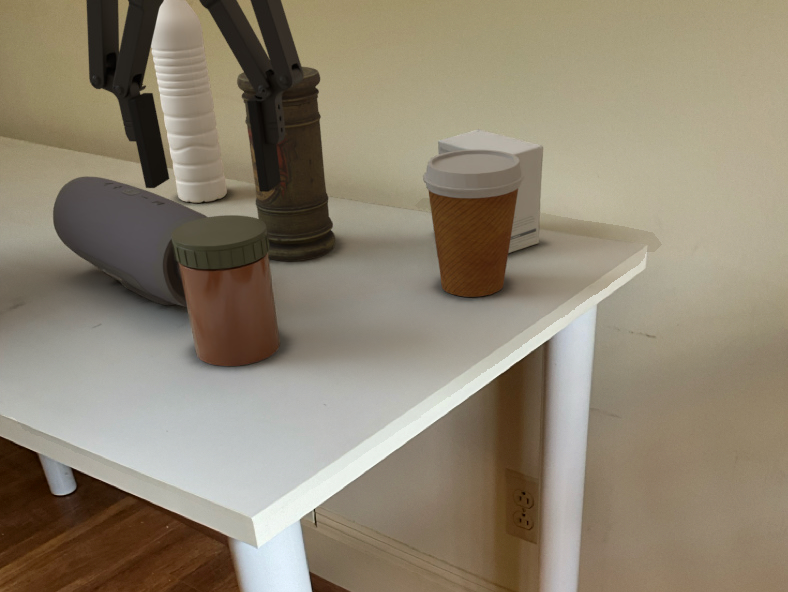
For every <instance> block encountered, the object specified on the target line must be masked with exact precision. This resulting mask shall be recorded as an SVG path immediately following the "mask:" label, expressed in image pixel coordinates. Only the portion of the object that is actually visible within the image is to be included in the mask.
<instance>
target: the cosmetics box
mask: <svg viewBox="0 0 788 592" xmlns="http://www.w3.org/2000/svg"><path fill="white" fill-rule="evenodd" d="M437 150H438V151H437V153H438V155H439V154H443V153H447V152H452V151H460V150H495V151H502V152H507V153H510V154H513V155H515V156H517V157H518V158H519V161H520V167H521V170H522V171H523V172H524V178H523V180H522V181H521V185H520V187H519V188H518V195H517V200H516V207H515V213H514V220H513V226H512V233H511V239H510V246H509V252H508V254H510V253H512V252H513V253H514V252H516V251H519V250H522V249H525V248H529V247H531V246H534V245H537V244H540V224H541V223H540V222H541V219H540V218H541V196H542V178H543V177H542V176H543V175H542V174H543V161H544V159H543V158H544V145H542V144H538V143H534V142H531V141H527V140H522V139H519V138H515V137H511V136H509V135H503V134H500V133H496V132H493V131H492V132H491V131H489V130H483V129H479V128H478V129H475V130H470V131H468V132H463V133H460V134H456V135H453V136H448V137H445V138H442V139H439V140H437Z"/></svg>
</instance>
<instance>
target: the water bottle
mask: <svg viewBox="0 0 788 592" xmlns="http://www.w3.org/2000/svg"><path fill="white" fill-rule="evenodd" d="M150 49H151V55H152V61H153V63H154V65H153V67H154V71H155V77H156V78H157V79H156V82H157V83H156V84H157V86H158V92H159V99H160V105H161V111H162V113H163V120H164V122H163V123H164V127H165V130H166V132H167V133H166V136H167V142H168V145H169V154H170V158H171V161H172V170H173V174H174V177H175V187H176V191H177V196H178V199H180V201H183V202H185V203H189V202H190V203H194V204H197V203H200V204H201V203H203V202H205V203H208V202H213V201H216V200H220V199H222V198H224V197H225V196H227V193H228V189H227V183H226V182H227V181H226V176H225V174H224V163H223V160H222V149H221V145H220V141H219V138H220V137H219V132H218V131H219V130H218V128H217V118H216V117H217V116H216V113H215V111H214V108H215V106H214V99H213V93H212V90H211V83H210V75H209V69H208V62H207V55H206V53H205V51H206V48H205V45H204V32H203V26H202V23H201V21H200V18H199V16H198V15H197V13H196V12H195V11H194V9H193V8H192V6H191V5H190V4H189V3H188V1H187V0H164V1H163V3H162V4H161V6H160V8H159V12H158V17H157V21H156V26H155V30H154V35H153V39H152V44H151V48H150Z"/></svg>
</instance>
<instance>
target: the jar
mask: <svg viewBox="0 0 788 592" xmlns="http://www.w3.org/2000/svg"><path fill="white" fill-rule="evenodd" d="M178 264H179V269H180V274H181V279H182V284H183V289H184V294H185V299H186V305H187V307H186V310H187V315H188V319H189V324H190V329H191V335H192V339H193V344H194V350H195V354H196V357H197V358H198V359H199V360H201V361H202V362H204V363H206V364H209V365H213V366H219V367H220V366H221V367H239V366H246V365H250V364H255V363H258V362H261V361H264V360H266V359H268V358H270V357H272V356H273V355H274V354H276V353H277V351H278V350H279V349H280V347H281V338H280V331H279V330H280V329H279V323H278V322H279V321H278V316H277V315H278V314H277V309H276V300H275V293H274V286H273V279H272V270H271V264H270V258H269V255H268V253H267V254H266V255H265V256H263V257H262V258H260V259H258V260H256V261H254V262H251V263H248V264H245V265H241V266H236V267H231V268H223V269H198V268H192V267H187V266H184V265H182V264H180V263H179V262H178Z"/></svg>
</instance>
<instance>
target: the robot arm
mask: <svg viewBox="0 0 788 592" xmlns="http://www.w3.org/2000/svg"><path fill="white" fill-rule="evenodd" d="M127 1H128V7H127V12H126V17H125V21H124V27H123V31H122V36H121V41H120V25H119V23H120V22H119V21H120V20H119V19H120V18H119V0H85V2H86V24H87V50H88V51H87V53H88V56H87V57H88V78H89V83H90V85H91V86H92V87H93V88H94V89H96V90H101V89H102V90H103V91H104V90H105V91H107V92H109V93H111V94H113V95H114V97H116V100H117V102H118V104H119V105H118V106H119V111H120V114H121V120H122V123H123V128H124V133H125V136H126V138H127V140H128V142H133V143H134V142H135V144H136V149H137V154H138V159H139V162H140V168H141V171H142V176H143V181H144V186H145V189H156V188H157V187H159V186H161V185H162V184H164V183H166V182H167V181H169V180H170V175H169V170H168V164H167V158H166V154H165V150H164V149H165V148H164V144H163V140H162V133H161V128H160V123H159V119H158V113H157V109H156V103H155V98H154V93H153V92H142V91H144V90H145V89H146V88H147V85H146V84H145V85H144V80H145V75H146V72H147V71H146V70H147V65H148V61H149V57H150V53H151V49H152V48H151V44H152V39H153V35H154V30H155V26H156V21H157V17H158V12H159V8H160V6H161V4H162V3H163V1H164V0H127ZM198 1H199V3H200V5H202V7H203V8H205V9H206V10H207V11H208V12H209V14H210V15H211V17H212V19H213V21H214V23H215V24H216V27H217V28H218V29H219V31H220V33H221V35H222V37H223V38H224V40H225V42H226V43H227V45H228V46H229V49H230V50H231V52H232V54H233V56H234V57H235V59H236V61H237V62H238V64H239V66H240V68H241V70H242V72H244V73H245V75H246V77H247V78H248V80H249V82H250V84H251V85H252V87H253V89H254V91H255V92H256V95H255V96H253V98H251V99H249V100H248V101H247V104H248V111H249V119H250V126H251V133H252V140H253V147H254V154H255V162H256V169H257V176H258V183H259V190H260V191H261V192H269V191H270V190H271V189H273V188H274V187H275V186H277V185H278V184H279V183H280V182H281V178H280V170H279V162H278V154H277V145H276V144H278V143H279V142H281V141H282V140H284V137H285V133H286V132H285V125H284V115H283V107H282V93H283V92H284V90H287V89H289V88H291V87H293V86H294V85H296V84H298V83H300V82H301V81H302V80H303V77H304V74H303V70H302V67H303V66H302V64H301V61H300V60H301V59H300V57H299V54H298V50H297V48H296V44H295V41H294V37H293V34H292V31H291V28H290V25H289V22H288V19H287V15H286V12H285V9H284V6H283V3H282V0H250V3H251V7H252V10H253V12H254V16H255V19H256V22H257V26H258V28H259V32H260V34H261V37H262V40H263V43H264V46H265V49H264V46H263V45H262V43H261V41H260V40H259V38H258V35H257V34H256V32H255V30H254V28H253V27H252V25H251V22H249V19H248V18H247V16H246V14H245V12H244V11H243V9H242V7H241V5H240V4H239V1H238V0H198ZM141 92H142V93H141Z"/></svg>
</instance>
